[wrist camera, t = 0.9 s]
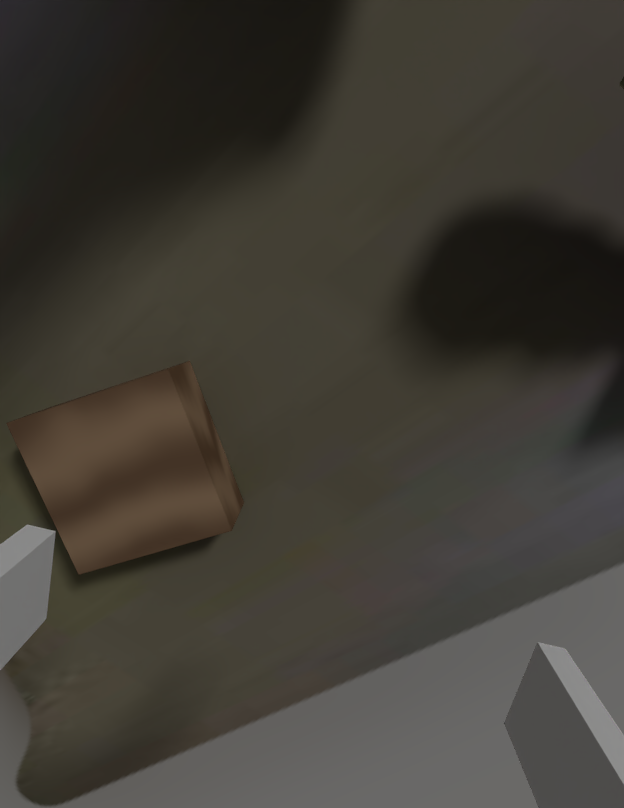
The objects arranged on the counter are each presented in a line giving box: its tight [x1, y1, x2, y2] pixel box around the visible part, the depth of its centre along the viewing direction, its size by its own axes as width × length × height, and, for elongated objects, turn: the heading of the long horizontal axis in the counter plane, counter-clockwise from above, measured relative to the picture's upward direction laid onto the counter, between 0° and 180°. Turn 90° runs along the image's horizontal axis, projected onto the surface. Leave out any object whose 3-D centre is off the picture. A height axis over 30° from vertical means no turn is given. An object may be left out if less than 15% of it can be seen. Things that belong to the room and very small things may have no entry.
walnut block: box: [6, 361, 244, 575], centre depth 36 cm, size 13×13×5 cm
